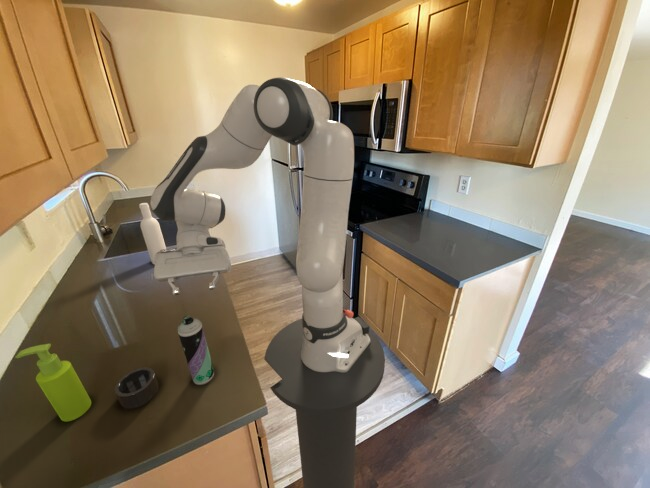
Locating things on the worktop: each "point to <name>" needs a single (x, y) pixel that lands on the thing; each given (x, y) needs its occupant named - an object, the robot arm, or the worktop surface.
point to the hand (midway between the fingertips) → (194, 291)
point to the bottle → (151, 232)
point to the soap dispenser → (59, 383)
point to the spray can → (196, 350)
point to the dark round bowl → (136, 388)
